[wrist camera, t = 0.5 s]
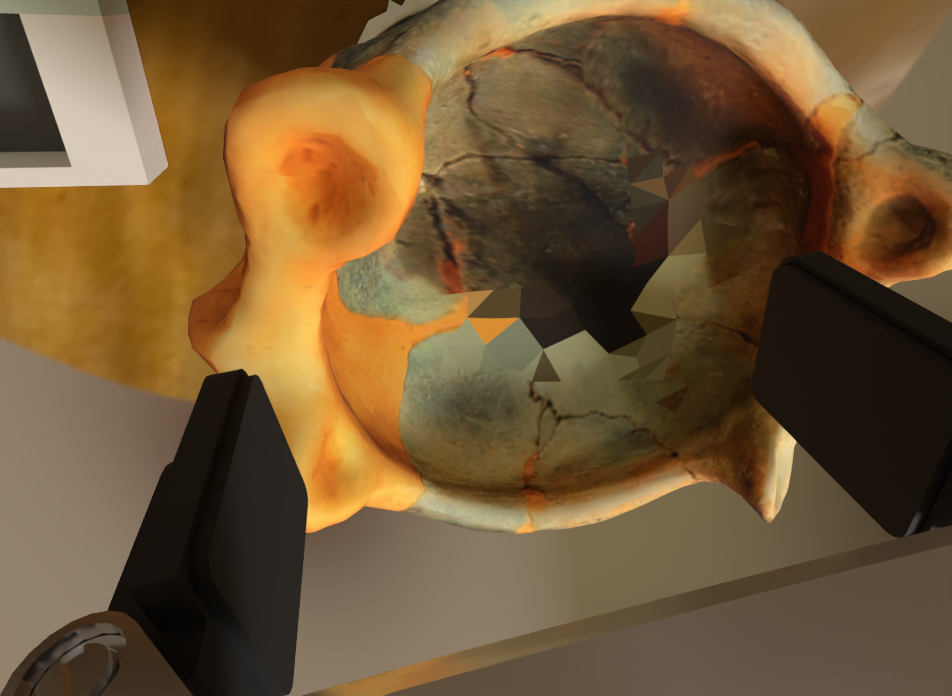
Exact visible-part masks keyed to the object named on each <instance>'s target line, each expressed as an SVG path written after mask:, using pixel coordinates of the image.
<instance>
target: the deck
mask: <svg viewBox="0 0 952 696" xmlns="http://www.w3.org/2000/svg"><path fill="white" fill-rule="evenodd" d="M167 167H168V163H167V159H166V155H165V151H164V147H163V143H162V139H161V135H160V132H159V128H158V124H157V120H156V116H155V112H154V108H153V104H152V100H151V96H150V92H149V88H148V84H147V80H146V77H145V73H144V69H143V65H142V61H141V57H140V53H139V49H138V45H137V41H136V37H135V33H134V29H133V26H132V22H131V18H130V14H129V10H128V6H127V2H126V0H0V188H6V187H55V186H105V185H149V184H150V183H151V182H152V181H153V180H154V179H155V178H156V177H157V176H158V175H159V174H161V173H162V172H163V171H164V170H165V169H166V168H167Z"/></svg>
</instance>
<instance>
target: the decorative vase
mask: <svg viewBox="0 0 952 696" xmlns="http://www.w3.org/2000/svg"><path fill="white" fill-rule="evenodd" d="M223 159H224V163H225V168H226V172H227V176H228V180H229V184H230V189H231V193H232V196H233V200H234V204H235V207H236V211H237V215H238V218H239V221H240V223H241V225H242V227H243V229H244V231H245V240H246V250H245V253H244V256H243V258H242V260H241V261H240V262H239V263H238V264H237V265H236V267H235V268H234V269H233V270H232V271H231V272H230V273H229V275H228V276H227V277H226V278H225V279H224V280H223V281H222V282H220V283H219V284H218V285H217V286H215V287H214V288H213V289H211V290H210V291H208V292H206V293H205V294H203V295H201V296H199V297H198V298H196V299H194V300H193V302H192V306H191V309H190V313H189V317H188V335H189V338H190V341H191V345H192V348H193V349H194V350H195V351H196V352H197V353H198V354H199V355H200V356H201V357H202V358H203V359H204V360H205V361H206V362H207V363H208V365H209V366H210V367H211V368H212V369H213V370H214V371H215V372H216V373H217V374H218V373H223V372H228V371H233V370H238V369H243V370H245V371H246V373H247V374H248V376H251V375H258V376H259V377H260V379H261V381H262V383H263V386H264V388H265V390H266V393H267V395H268V397H269V400H270V402H271V405H272V407H273V409H274V412H275V414H276V416H277V419H278V421H279V423H280V426H281V428H282V431H283V433H284V435H285V438H286V440H287V442H288V445H289V447H290V450H291V452H292V454H293V457H294V459H295V461H296V464H297V466H298V468H299V471H300V473H301V476H302V478H303V480H304V483H305V486H306V489H307V495H308V512H307V524H306V533H308V532H316V531H318V530H320V529H322V528H325V527H327V526H330V525H333V524H336V523H338V522H341V521H344V520H346V519H347V518H349V517H350V516H352V515H353V514H354V513H356V512H357V511H359V510H360V509H361V508H362V507H363V506H368V507H375V508H381V509H387V510H394V511H401V512H406V513H410V514H415V515H419V516H423V517H428V518H432V519H436V520H440V521H443V522H446V523H449V524H452V525H456V526H460V527H464V528H468V529H471V530H477V531H487V532H503V533H512V534H514V533H529V532H537V531H548V530H557V529H568V528H573V527H578V526H583V525H587V524H592V523H597V522H600V521H603V520H606V519H609V518H612V517H615V516H617V515H620V514H622V513H625V512H627V511H630V510H632V509H634V508H637V507H639V506H641V505H644V504H646V503H648V502H650V501H652V500H654V499H656V498H658V497H660V496H662V495H664V494H666V493H669V492H671V491H673V490H676V489H678V488H680V487H683V486H687V485H690V484H694V483H698V482H701V481H705V482H712V483H719V484H725V485H726V486H728V487H729V488H731V489H732V490H734V491H735V492H737V493H738V494H739V495H741V496H742V497H743V498H744V499H745V500H746V501H747V502H748V503H749V505H750V506H751V507H753V508H754V510H755V511H756V512H757V513H758V514H759V516H760V517H761V518H762V519H763V520H764V521H765V522H768V523H770V521H772V520H773V518H774V517H775V515H776V514H777V513H778V512H779V510H780V508H781V505H782V502H783V499H784V497H785V494H786V492H787V490H788V486H789V479H790V473H791V468H792V460H793V452H794V446H795V444H796V440H795V439H794V438H793V437H792V436H791V435H790V434H789V433H788V432H787V431H786V430H785V429H784V428H783V427H782V426H781V425H780V424H779V423H778V422H777V421H776V420H775V419H774V418H773V417H772V416H771V415H770V414H769V413H768V412H767V411H766V410H765V409H764V408H763V407H762V406H761V405H760V404H759V403H758V402H757V400H756V399H755V397H754V395H753V392H752V387H751V384H752V377H753V372H754V367H755V362H756V356H757V351H758V346H759V340H760V335H761V330H762V324H763V319H764V314H765V308H766V303H767V298H768V292H769V287H770V282H771V277H772V273H773V271H774V270H775V269H776V268H777V267H779V265H780V263H781V262H782V260H783V259H785V258H786V257H790V256H795V255H800V254H805V253H809V252H815V251H821V252H824V253H826V254H828V255H829V256H831V257H833V258H835V259H837V260H838V261H840V262H842V263H844V264H846V265H848V266H849V267H851V268H853V269H855V270H857V271H858V272H860V273H862V274H864V275H866V276H868V277H869V278H871V279H873V280H875V281H877V282H878V283H880V284H882V285H884V286H886V287H887V288H888V287H889V286H891V285H893V284H895V283H897V282H900V281H908V280H916V279H922V278H928V277H933V276H935V275H937V274H939V273H941V272H943V271H946V270H951V269H952V155H951V154H948V153H945V152H940V151H937V150H933V149H929V148H926V147H921V146H916V145H912V144H910V143H909V142H908V141H907V140H905V139H904V138H903V137H902V136H900V135H899V134H898V133H897V132H896V131H894V130H893V129H892V128H891V127H889V126H888V125H887V124H886V123H885V122H884V121H883V120H882V119H881V118H880V117H879V116H878V115H877V114H876V113H875V112H874V111H873V110H872V109H871V108H870V107H869V106H868V105H867V104H866V103H865V102H864V101H863V100H862V99H861V98H860V97H859V96H858V95H857V94H856V93H855V92H854V91H853V89H852V88H851V87H850V86H849V85H848V83H847V82H846V81H845V80H844V78H843V77H842V76H841V75H840V74H839V72H838V71H837V70H836V69H835V68H834V66H833V65H832V64H831V62H830V60H829V58H828V57H827V55H826V53H825V51H824V50H823V48H821V47H820V46H819V45H817V44H816V42H815V40H814V39H813V37H812V36H811V34H810V33H809V31H808V30H807V28H806V26H805V25H804V24H803V23H802V22H801V21H800V20H799V19H798V18H797V17H796V16H795V15H794V14H793V12H791V11H790V10H789V9H787V8H786V7H785V6H783V5H782V4H781V3H779V2H778V1H777V0H405V1H404V3H403V4H402V6H400V5H399V4H397V3H395V2H393V1H391V0H389V3H388V8H387V11H386V12H384V13H382V14H380V15H378V16H376V17H374V18H372V19H370V20H368V23H367V25H366V27H365V29H364V31H363V33H362V35H361V37H360V39H359V41H358V43H357V44H354V45H351V46H349V47H346V48H344V49H342V50H340V51H338V52H336V53H335V54H333V55H332V56H331V57H329V58H328V59H326V60H325V61H324V62H322V63H321V64H320V65H319V66H318V67H306V68H298V69H295V70H291V71H287V72H283V73H280V74H276V75H272V76H270V77H268V78H266V79H264V80H262V81H259V82H257V83H255V84H253V85H251V86H249V87H247V88H245V89H243V90H242V91H241V93H240V95H239V97H238V99H237V101H236V103H235V105H234V107H233V109H232V111H231V113H230V116H229V118H228V120H227V122H226V124H225V133H224V149H223Z"/></svg>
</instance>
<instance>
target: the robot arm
mask: <svg viewBox="0 0 952 696" xmlns="http://www.w3.org/2000/svg"><path fill="white" fill-rule="evenodd" d="M751 387H752V392H753V395H754V397H755V399H756V400H757V402H758V403H759V404H760V405H761V406H762V407H763V408H764V409H765V410H766V411H767V412H768V413H769V414H770V415H771V416H772V417H773V418H774V419H775V420H776V421H777V422H778V423H779V424H780V425H781V426H782V427H783V428H784V429H785V430H786V431H787V432H788V433H789V434H790V435H791V436H792V437H793V438H794V439H795V440H796V441H797V442H798V443H799V444H800V445H801V446H802V447H803V448H804V449H805V450H806V451H807V452H808V453H809V454H810V455H811V456H812V457H813V458H814V459H815V460H816V461H817V462H818V463H819V464H820V466H821V467H822V468H824V470H825V471H826V472H827V473H828V474H829V475H830V476H831V477H832V478H833V479H834V480H835V481H836V482H837V483H838V484H839V485H840V486H841V487H842V488H843V489H844V490H845V491H846V492H847V493H848V494H849V495H850V496H851V497H852V498H853V499H854V500H855V501H856V502H857V503H858V504H859V505H860V506H861V507H862V508H863V509H864V510H865V511H866V512H867V513H868V514H869V515H870V516H871V517H872V518H873V519H874V520H875V521H876V522H877V523H878V524H879V525H880V526H881V527H882V528H883V529H884V530H885V531H886V532H887V533H889V534H890V535H892V536H894V537H899V539H895V540H891V541H887V542H883V543H879V544H875V545H871V546H867V547H863V548H859V549H855V550H851V551H847V552H843V553H839V554H835V555H831V556H827V557H823V558H819V559H815V560H811V561H807V562H804V563H800V564H796V565H792V566H788V567H784V568H780V569H776V570H773V571H768V572H764V573H761V574H757V575H753V576H749V577H745V578H741V579H737V580H733V581H730V582H725V583H721V584H718V585H714V586H710V587H706V588H702V589H698V590H694V591H691V592H686V593H683V594H679V595H675V596H671V597H667V598H663V599H659V600H655V601H652V602H648V603H644V604H640V605H636V606H632V607H628V608H624V609H621V610H617V611H613V612H609V613H606V614H601V615H598V616H594V617H590V618H586V619H582V620H579V621H575V622H571V623H567V624H563V625H560V626H556V627H552V628H548V629H544V630H541V631H537V632H533V633H529V634H525V635H521V636H518V637H514V638H510V639H506V640H503V641H499V642H495V643H491V644H487V645H483V646H480V647H476V648H472V649H468V650H464V651H460V652H457V653H453V654H449V655H446V656H442V657H438V658H434V659H431V660H427V661H423V662H420V663H417V664H413V665H409V666H405V667H402V668H399V669H395V670H391V671H388V672H384V673H380V674H377V675H373V676H370V677H366V678H363V679H359V680H355V681H352V682H348V683H345V684H341V685H338V686H334V687H331V688H327V689H324V690H320V691H316V692H313V693H310V694H307V695H303V696H952V323H951V322H949V321H947V320H945V319H944V318H942V317H940V316H938V315H936V314H935V313H933V312H931V311H929V310H927V309H926V308H924V307H922V306H920V305H918V304H917V303H915V302H912V301H911V300H909V299H907V298H906V297H904V296H902V295H900V294H898V293H896V292H895V291H892V290H891V289H889V288H887V287H886V286H884V285H882V284H880V283H878V282H877V281H875V280H873V279H871V278H869V277H868V276H866V275H864V274H862V273H860V272H858V271H857V270H855V269H853V268H851V267H849V266H848V265H846V264H844V263H842V262H840V261H838V260H837V259H835V258H833V257H831V256H829V255H828V254H826V253H824V252H821V251H815V252H809V253H805V254H800V255H795V256H790V257H786V258H785V259H783V260H782V262H781V263H780V265H779V267H777V268H776V269H775V270H774V271H773V273H772V277H771V282H770V287H769V292H768V298H767V303H766V308H765V314H764V319H763V324H762V330H761V335H760V340H759V346H758V351H757V356H756V362H755V367H754V372H753V377H752V384H751ZM307 512H308V495H307V489H306V486H305V483H304V480H303V478H302V476H301V473H300V471H299V468H298V466H297V464H296V461H295V459H294V457H293V454H292V452H291V450H290V447H289V445H288V442H287V440H286V438H285V435H284V433H283V431H282V428H281V426H280V423H279V421H278V419H277V416H276V414H275V412H274V409H273V407H272V405H271V402H270V400H269V397H268V395H267V393H266V390H265V388H264V386H263V383H262V381H261V379H260V377H259V376H258V375H251V376H248V374H247V373H246V371H245V370H243V369H238V370H233V371H228V372H223V373H218V374H213V375H209V376H206V378H205V379H204V382H203V384H202V387H201V390H200V392H199V395H198V398H197V400H196V403H195V405H194V408H193V411H192V413H191V416H190V419H189V421H188V424H187V426H186V429H185V432H184V435H183V437H182V440H181V442H180V445H179V448H178V450H177V453H176V455H175V458H174V461H173V462H171V463H170V464H168V465H167V466H166V467H165V468H164V471H163V472H162V474H161V476H160V479H159V481H158V484H157V486H156V489H155V492H154V494H153V496H152V499H151V502H150V504H149V507H148V509H147V512H146V514H145V517H144V519H143V522H142V524H141V527H140V529H139V532H138V534H137V537H136V540H135V542H134V545H133V547H132V550H131V552H130V555H129V557H128V560H127V562H126V565H125V567H124V570H123V572H122V575H121V577H120V580H119V583H118V585H117V588H116V590H115V593H114V595H113V598H112V600H111V603H110V605H109V608H108V610H107V611H104V612H99V613H93V614H89V615H87V616H84V617H82V618H79V619H77V620H75V621H72V622H70V623H68V624H67V625H65V626H64V627H62V628H61V629H59V630H57V631H56V632H54V633H53V634H51V635H49V636H48V637H47V638H46V639H45V640H44V641H43V642H41V643H40V644H39V645H38V646H37V647H36V648H34V649H33V650H32V651H31V652H30V653H29V654H28V655H27V657H26V658H25V659H24V660H23V661H22V662H21V664H20V665H19V666H18V667H17V668H16V669H15V671H14V672H13V673H12V675H11V677H10V678H9V680H8V682H7V684H6V686H5V687H4V689H3V691H2V692H1V695H0V696H284V695H288V694H289V693H290V692H291V689H292V685H293V676H294V665H295V652H296V640H297V629H298V618H299V606H300V593H301V582H302V571H303V559H304V546H305V535H306V524H307Z"/></svg>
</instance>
